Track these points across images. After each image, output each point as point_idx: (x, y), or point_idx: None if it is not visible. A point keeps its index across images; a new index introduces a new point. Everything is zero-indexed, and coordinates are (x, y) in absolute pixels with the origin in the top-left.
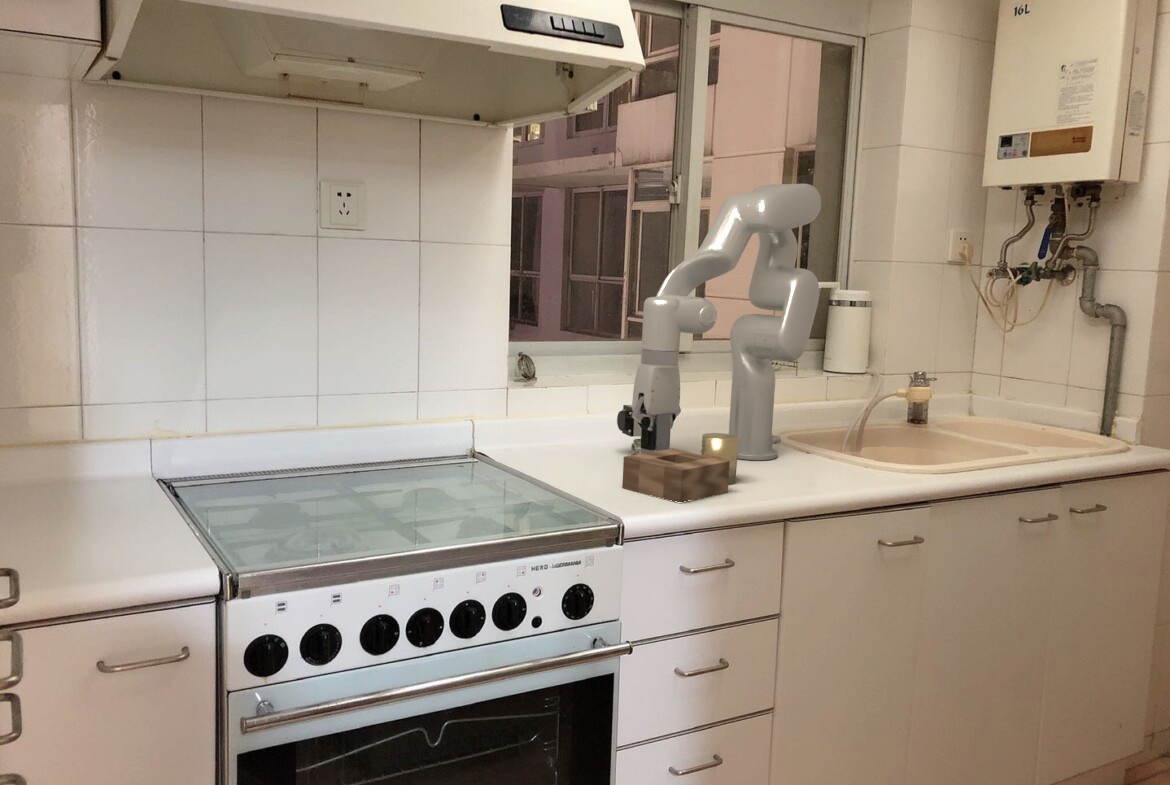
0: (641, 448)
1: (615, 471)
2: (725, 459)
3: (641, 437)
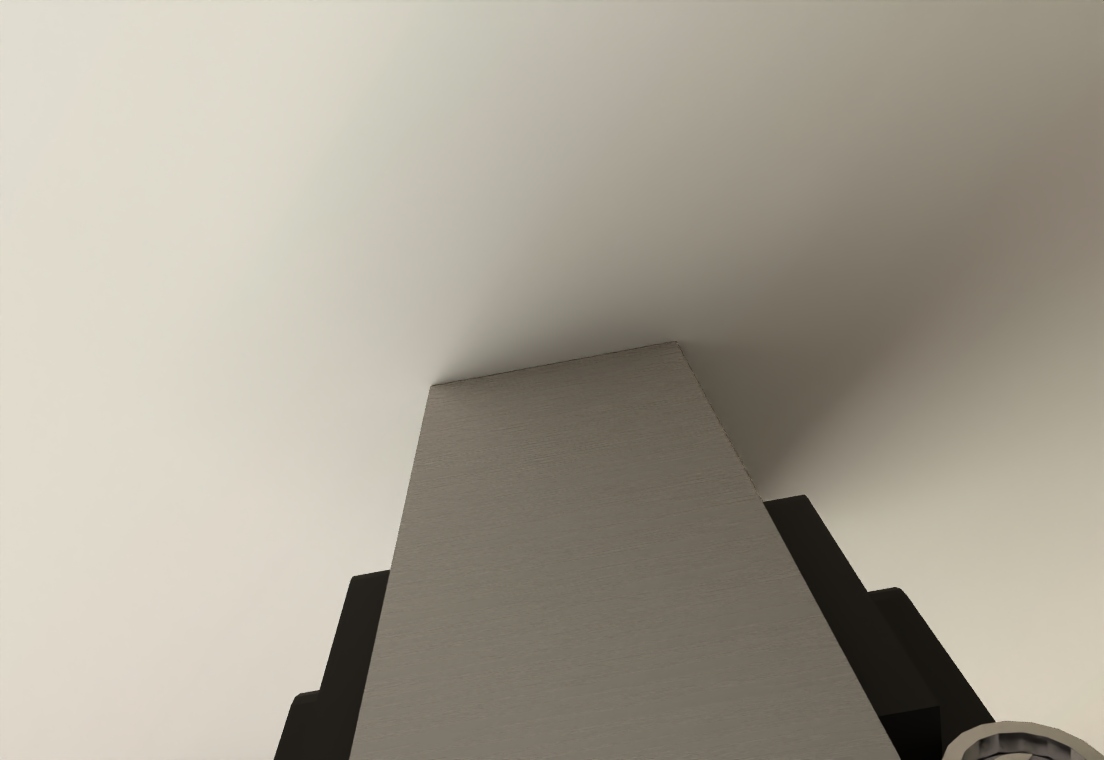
0: (405, 520)
1: (64, 340)
2: None
3: (324, 690)
